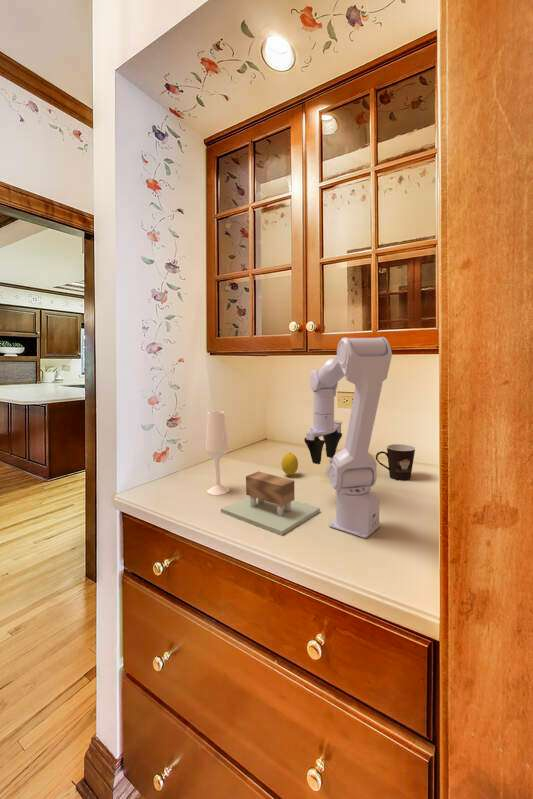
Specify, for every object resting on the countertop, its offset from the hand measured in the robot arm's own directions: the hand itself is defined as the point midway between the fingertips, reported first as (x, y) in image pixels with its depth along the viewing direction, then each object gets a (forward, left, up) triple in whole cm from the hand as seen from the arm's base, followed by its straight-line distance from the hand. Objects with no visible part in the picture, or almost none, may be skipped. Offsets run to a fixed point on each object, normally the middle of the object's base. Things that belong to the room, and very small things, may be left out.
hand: (323, 460), depth 104 cm
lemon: (+18, -8, -11) cm, 22 cm away
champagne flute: (+27, +16, -11) cm, 33 cm away
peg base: (+5, +18, -10) cm, 21 cm away
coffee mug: (-10, -28, -11) cm, 32 cm away
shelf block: (+5, +18, -6) cm, 20 cm away
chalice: (+8, -18, -11) cm, 22 cm away
